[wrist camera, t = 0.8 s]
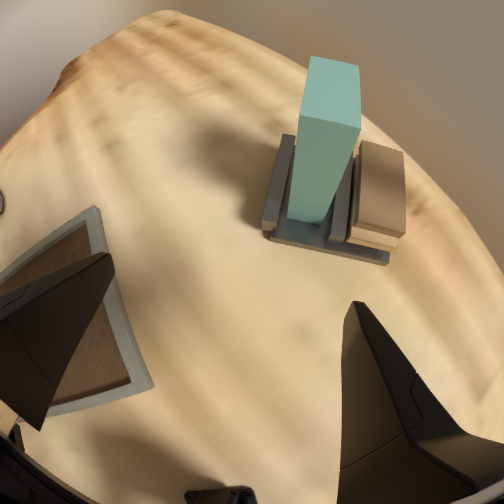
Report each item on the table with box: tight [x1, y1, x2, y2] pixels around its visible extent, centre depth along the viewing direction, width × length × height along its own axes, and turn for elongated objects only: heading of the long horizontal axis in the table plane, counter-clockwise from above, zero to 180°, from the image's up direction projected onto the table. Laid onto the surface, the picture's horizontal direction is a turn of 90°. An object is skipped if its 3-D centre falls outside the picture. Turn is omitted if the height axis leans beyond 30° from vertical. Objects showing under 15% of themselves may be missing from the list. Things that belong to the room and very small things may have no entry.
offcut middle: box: [347, 155, 398, 252], centre depth 21 cm, size 8×4×1 cm, turn 167°
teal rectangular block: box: [287, 56, 361, 225], centre depth 18 cm, size 6×3×12 cm, turn 167°
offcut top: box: [354, 140, 406, 238], centre depth 20 cm, size 8×4×1 cm, turn 167°
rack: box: [261, 134, 390, 266], centre depth 23 cm, size 10×11×3 cm
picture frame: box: [0, 206, 154, 423], centre depth 22 cm, size 19×2×30 cm
